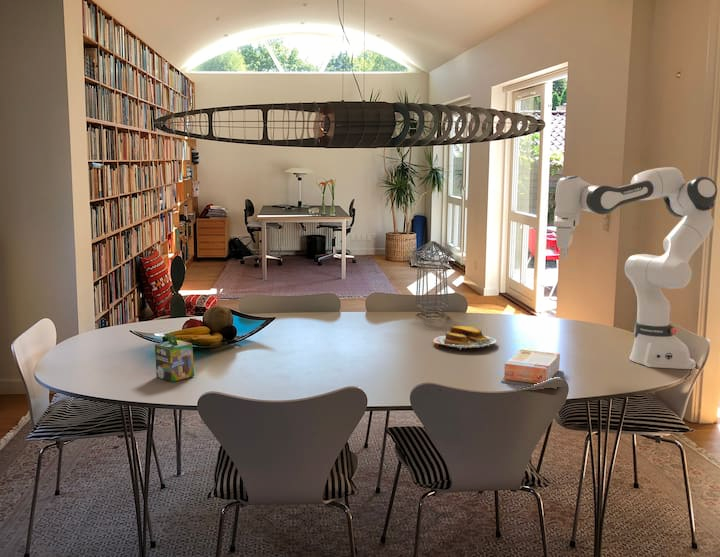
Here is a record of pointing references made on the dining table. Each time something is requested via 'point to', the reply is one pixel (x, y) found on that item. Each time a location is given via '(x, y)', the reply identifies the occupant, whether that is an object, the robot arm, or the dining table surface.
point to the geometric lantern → (438, 246)
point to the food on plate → (464, 338)
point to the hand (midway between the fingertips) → (564, 258)
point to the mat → (557, 374)
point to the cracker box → (532, 366)
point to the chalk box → (174, 360)
